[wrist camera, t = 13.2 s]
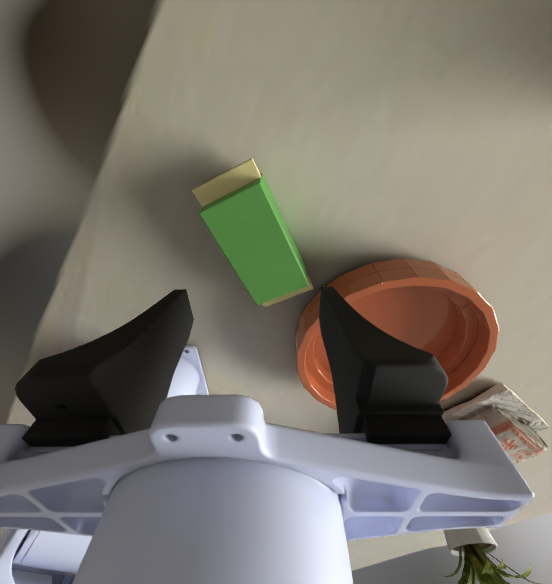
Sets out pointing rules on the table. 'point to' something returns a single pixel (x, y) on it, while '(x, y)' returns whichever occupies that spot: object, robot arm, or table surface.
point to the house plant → (477, 556)
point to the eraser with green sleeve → (253, 234)
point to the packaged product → (504, 421)
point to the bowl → (406, 321)
